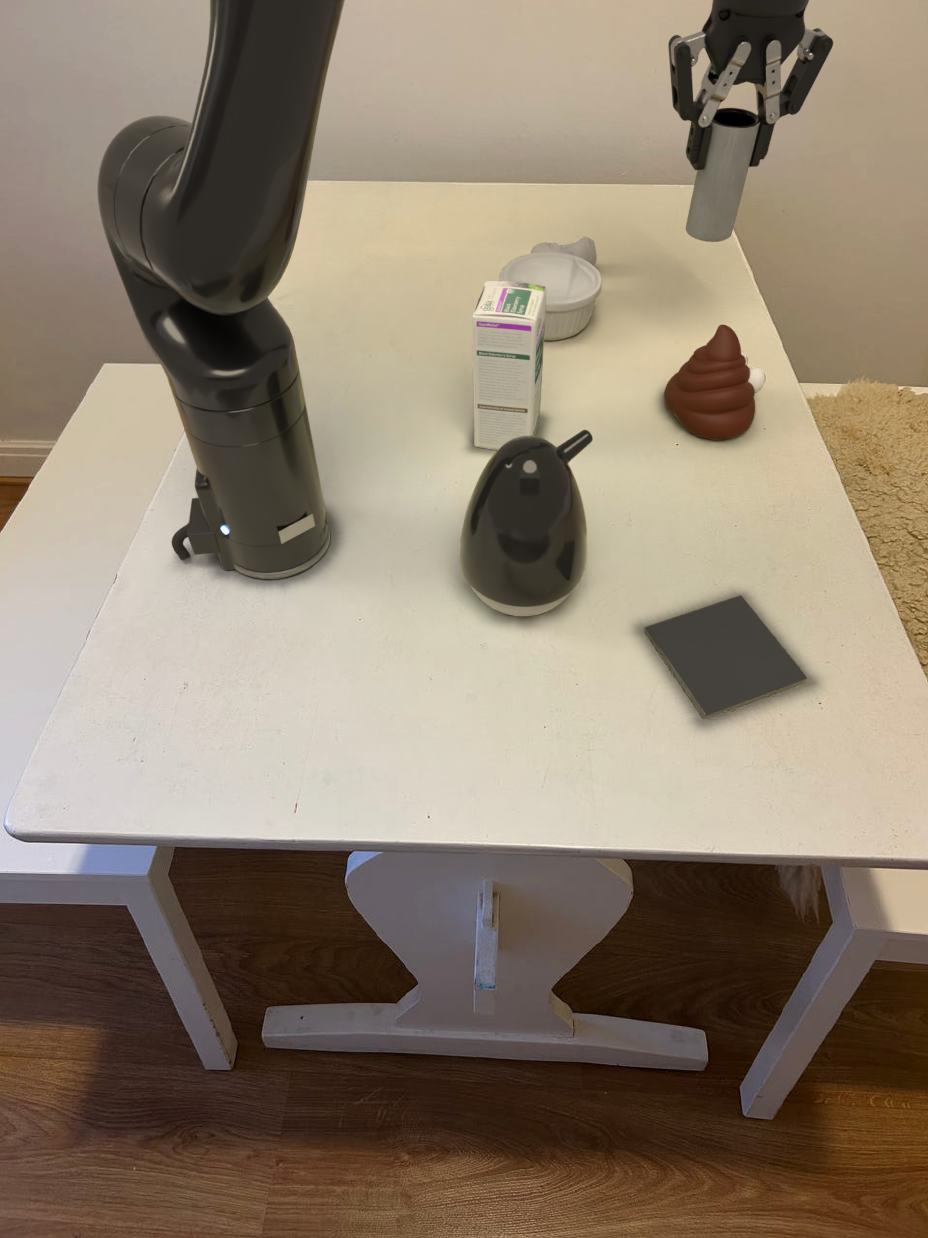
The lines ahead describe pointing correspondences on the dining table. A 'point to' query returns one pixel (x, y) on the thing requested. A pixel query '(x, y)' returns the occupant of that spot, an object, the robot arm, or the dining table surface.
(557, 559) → the pump dispenser
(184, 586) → the dining table surface
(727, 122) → the planter
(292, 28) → the robot arm
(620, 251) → the dining table surface
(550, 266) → the ramekin
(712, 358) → the poop emoji
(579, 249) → the pale two-lobed sculpture
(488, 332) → the syrup box
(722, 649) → the slate coaster
